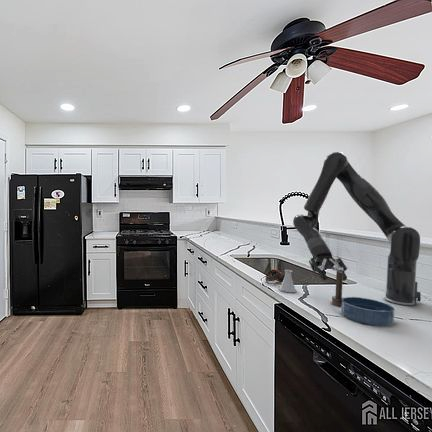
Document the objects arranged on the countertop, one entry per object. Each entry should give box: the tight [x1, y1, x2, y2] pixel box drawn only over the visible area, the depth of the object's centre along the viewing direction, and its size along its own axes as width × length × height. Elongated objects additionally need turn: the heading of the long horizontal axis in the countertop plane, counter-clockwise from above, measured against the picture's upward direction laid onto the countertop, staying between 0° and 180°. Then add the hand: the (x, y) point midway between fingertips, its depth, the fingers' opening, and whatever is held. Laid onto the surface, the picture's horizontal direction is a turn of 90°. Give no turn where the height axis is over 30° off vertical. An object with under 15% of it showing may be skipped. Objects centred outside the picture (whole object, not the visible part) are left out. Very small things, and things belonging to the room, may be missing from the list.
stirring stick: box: [331, 271, 344, 307], centre depth 118 cm, size 4×4×14 cm
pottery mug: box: [265, 268, 285, 283], centre depth 151 cm, size 12×10×8 cm
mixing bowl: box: [340, 296, 395, 327], centre depth 104 cm, size 15×15×6 cm
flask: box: [279, 269, 297, 293], centre depth 136 cm, size 7×7×10 cm
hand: (335, 279), depth 120 cm, fingers open, 8 cm apart
